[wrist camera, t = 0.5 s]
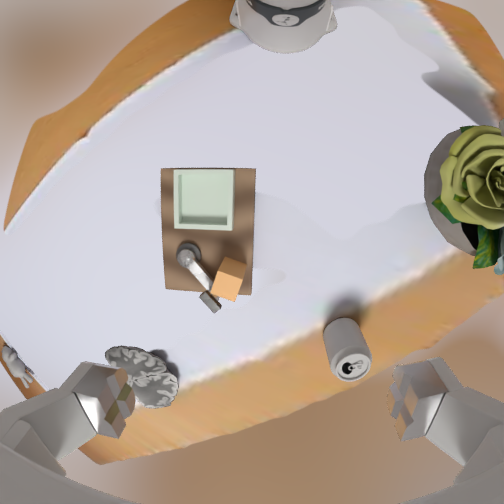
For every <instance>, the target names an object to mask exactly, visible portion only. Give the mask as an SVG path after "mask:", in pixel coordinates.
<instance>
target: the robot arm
mask: <svg viewBox="0 0 504 504" xmlns="http://www.w3.org/2000/svg"><path fill="white" fill-rule="evenodd" d="M236 14H238V16H236ZM330 19H331V20H330ZM230 23H231V24H232V25H233V26H235V27H236V28H238V29H241V30H242V31H243V32H244V33H245V34H246V35H247V36H248V37H249V39H250V40H251V41H252V42H254V43H255V44H257V45H258V46H259V47H261V48H263V49H266V50H269V51H272V52H276V53H295V52H300V51H303V50H306V49H308V48H310V47H312V46H313V45H314V44H316V43H317V42H318V40H320V38H321V37H322V36H323V35H325V34H327V33H330V32H332V31H334V30H335V29H336V28H337V22H336V18H335V15H334V12H333V5H331V2H330V0H235V3H234V6H233V9H232V12H231V15H230ZM393 379H394V381H395V382H394V383H393V384H392V385H391V386H390V387H389V391H388V395H387V404H388V410H389V413H390V415H391V416H392V417H394V418H395V419H397V421H396V423H395V428H396V431H397V434H398V436H399V439H400V441H405V440H409V439H413V438H418V437H422V436H425V437H426V438H427V439H428V440H430V441H431V442H433V443H434V444H435V445H436V446H437V447H439V448H440V449H441V450H443V451H444V452H445V453H447V454H448V455H449V456H450V457H452V458H453V459H454V460H456V461H457V462H458V463H460V464H461V465H462V466H464V467H463V468H462V470H461V471H460V472H459V473H458V475H457V476H456V477H455V479H454V481H453V482H454V485H453V486H450V487H448V488H445V489H442V490H440V491H437V492H434V493H431V494H428V495H425V496H422V497H419V498H416V499H413V500H409V501H406V502H403V503H399V504H504V403H502V402H501V401H498V400H496V399H494V398H492V397H489V396H487V395H485V394H483V393H480V392H478V391H476V390H474V389H472V388H469V387H465V388H464V387H463V386H462V384H461V383H460V382H459V380H458V379H457V377H455V375H454V373H453V372H452V371H451V369H450V368H449V366H448V365H447V364H446V362H445V361H444V360H443V359H442V358H440V357H437V358H432V359H428V360H425V361H419V362H414V363H409V364H403V365H397V366H396V368H395V369H394V372H393ZM127 380H128V375H127V373H126V370H125V369H123V368H120V367H114V366H109V365H103V364H98V363H97V364H96V363H92V362H87V361H85V362H82V363H81V364H80V365H79V366H78V367H77V368H76V370H74V372H73V373H72V374H71V375H70V376H69V377H68V379H67V380H66V381H65V382H64V383H63V384H62V386H61V387H60V388H59V389H58V388H54V389H52V390H49V391H47V392H45V393H42V394H40V395H37V396H35V397H33V398H30V399H28V400H26V401H23V402H20V403H18V404H16V405H13V406H11V407H9V408H6V409H3V411H2V412H1V413H0V504H140V503H136V502H133V501H129V500H126V499H123V498H119V497H116V496H113V495H110V494H107V493H104V492H101V491H98V490H96V489H93V488H90V487H87V486H85V485H83V484H80V483H78V482H75V481H73V480H71V479H68V478H66V477H65V475H66V471H65V470H64V468H63V467H62V466H61V465H60V464H59V463H58V461H59V460H60V459H62V458H64V457H65V456H67V455H68V454H70V453H71V452H73V451H74V450H76V449H77V448H79V447H80V446H81V445H83V444H84V443H86V442H87V441H89V440H90V439H92V438H93V437H94V436H96V435H97V434H100V435H104V436H109V437H113V438H117V439H119V437H120V435H121V433H122V432H123V430H124V428H125V426H126V422H125V418H127V417H129V416H131V414H132V412H133V410H134V407H135V394H134V391H133V388H131V387H130V386H129V385H128V384H127V383H126V382H127Z"/></svg>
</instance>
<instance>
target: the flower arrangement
mask: <svg viewBox="0 0 504 504" xmlns="http://www.w3.org/2000/svg"><path fill="white" fill-rule="evenodd" d="M499 128H500V129H499ZM499 128H496V127H493V126H486V125H482V126H465V127H460V129H459V130H457V131H454V132H452V133H449V134H447V135H446V136H445V137H444V138H443V139H442V141H441V142H440V143H439V144H438V146H437V147H436V148H435V149H434V151H433V152H432V153H431V155H430V158H429V161H428V165H427V168H426V171H425V174H424V185H425V187H424V188H425V189H424V191H425V192H424V197H425V201H426V204H427V207H428V211H429V214H430V217H431V219H432V221H433V223H434V224H435V226H436V227H437V228H438V230H439V231H440V232H441V234H442V235H443V236H444V238H445V239H446V241H447V242H449V243H450V244H452V245H454V246H455V247H457V248H459V249H461V250H463V251H465V252H466V253H468V254H470V255H472V256H475V259H474V264H473V269H475V268H485V267H489V266H492V265H495V264H496V262H497V261H498V265H496V266H495V267H494V272H495V274H497V275H502V274H504V118H503V120H501V121H500V122H499Z"/></svg>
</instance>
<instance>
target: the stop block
mask: <svg viewBox="0 0 504 504" xmlns="http://www.w3.org/2000/svg"><path fill="white" fill-rule="evenodd" d="M246 266H247V264H245V263H242V262H239V261H236V260H234V259H231V258H228V257H224V259H223V261H222V263H221V265H220V267H219V269H218V272H217V275H216V278H215V281H214V283H213V286H212V289H211V292H210V293H211V294H214V295H217V296H219V297H222V298H225V299H228V300H231V301H233V302H235V300H236V297H237V294H238V292H239V289H240V286H241V284H242V281H243V278H244V274H245V270H246Z"/></svg>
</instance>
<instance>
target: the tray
mask: <svg viewBox="0 0 504 504" xmlns="http://www.w3.org/2000/svg"><path fill="white" fill-rule="evenodd" d="M234 204H235V169H177V170H174V228H176V229H204V230H229V231H232V230H233V228H234Z"/></svg>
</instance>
